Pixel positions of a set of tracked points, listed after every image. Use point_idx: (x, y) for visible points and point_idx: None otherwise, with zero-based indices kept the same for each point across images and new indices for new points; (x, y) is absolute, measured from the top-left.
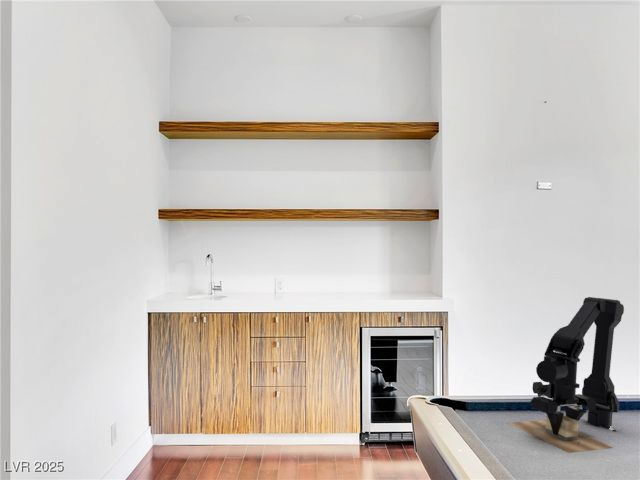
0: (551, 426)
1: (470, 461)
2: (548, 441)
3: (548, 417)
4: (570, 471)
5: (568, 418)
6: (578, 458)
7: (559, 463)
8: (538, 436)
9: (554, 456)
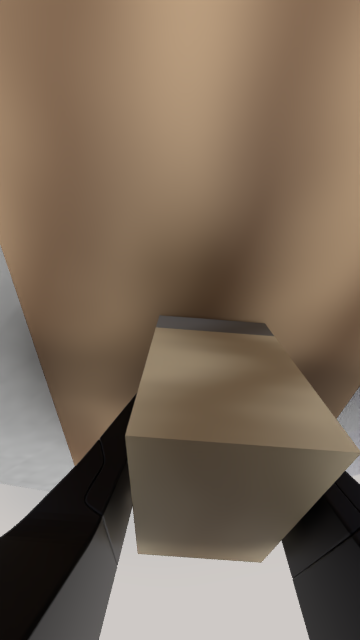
0: (123, 412)
1: None
2: (67, 402)
3: (58, 486)
4: (31, 481)
5: (253, 533)
6: None
7: (29, 457)
8: (53, 350)
9: (45, 432)
